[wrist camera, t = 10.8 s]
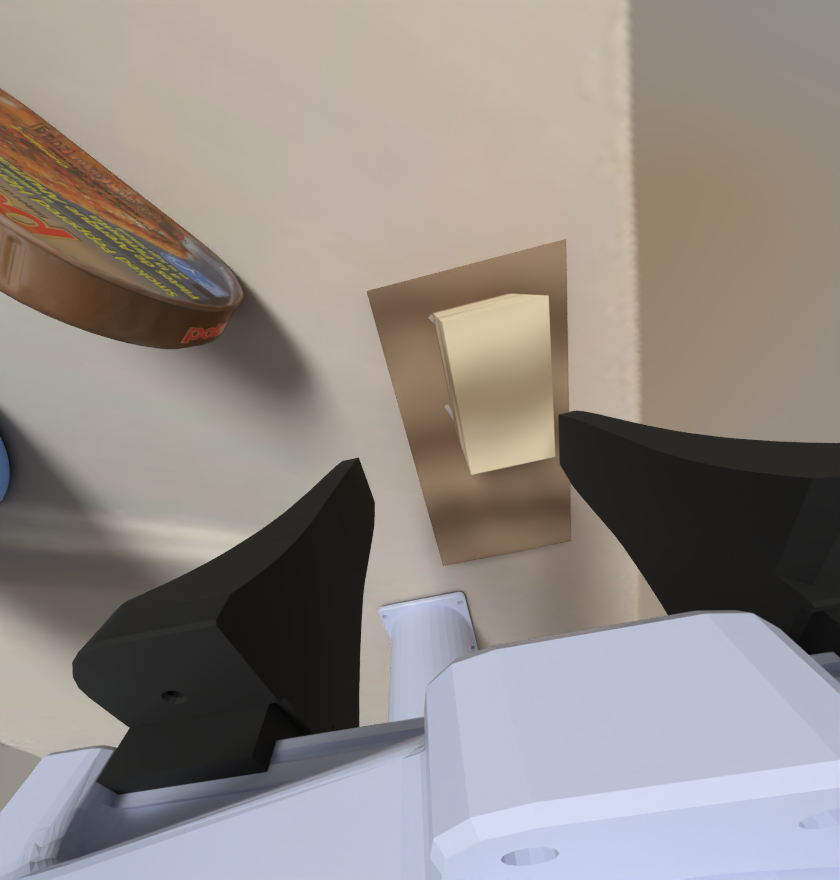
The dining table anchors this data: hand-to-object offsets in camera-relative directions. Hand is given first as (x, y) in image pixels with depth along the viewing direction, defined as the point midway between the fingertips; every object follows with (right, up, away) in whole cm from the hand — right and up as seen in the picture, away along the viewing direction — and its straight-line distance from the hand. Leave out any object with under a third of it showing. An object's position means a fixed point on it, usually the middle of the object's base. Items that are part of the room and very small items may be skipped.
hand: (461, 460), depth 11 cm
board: (+3, +1, +10) cm, 10 cm away
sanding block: (+2, +5, +6) cm, 8 cm away
